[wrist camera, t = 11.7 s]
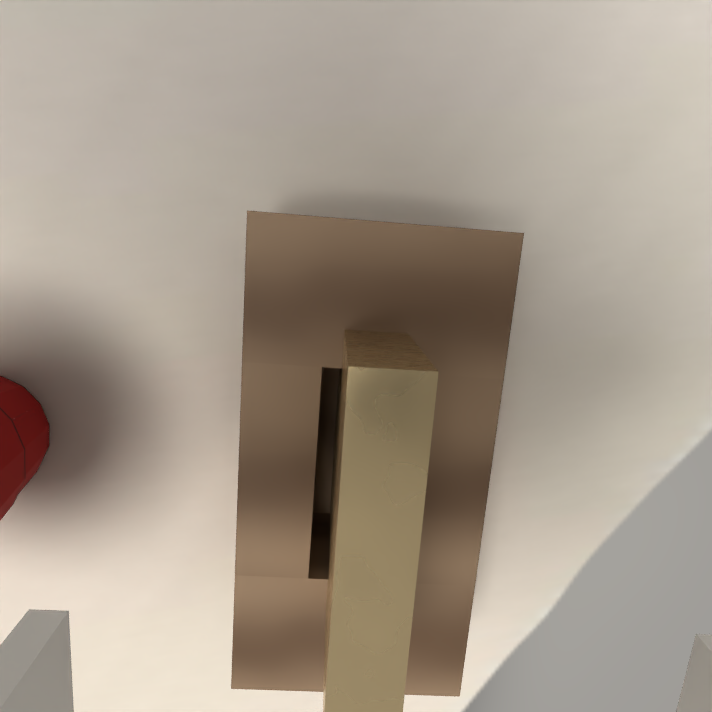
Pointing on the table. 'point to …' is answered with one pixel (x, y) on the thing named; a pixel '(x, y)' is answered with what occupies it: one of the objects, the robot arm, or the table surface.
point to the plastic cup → (19, 440)
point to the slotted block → (318, 417)
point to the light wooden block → (376, 518)
